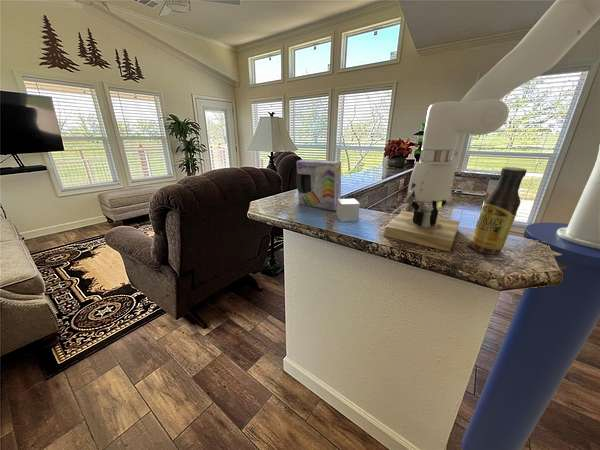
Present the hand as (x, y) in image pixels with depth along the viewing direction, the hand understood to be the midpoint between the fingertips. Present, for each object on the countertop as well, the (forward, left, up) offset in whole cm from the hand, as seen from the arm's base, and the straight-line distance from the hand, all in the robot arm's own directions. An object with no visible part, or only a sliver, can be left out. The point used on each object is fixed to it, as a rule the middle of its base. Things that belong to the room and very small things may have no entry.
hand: (423, 222), depth 66 cm
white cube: (+17, -16, -3) cm, 24 cm away
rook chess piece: (0, 0, -3) cm, 3 cm away
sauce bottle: (-9, +12, -3) cm, 15 cm away
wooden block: (0, 0, -3) cm, 3 cm away
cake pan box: (+24, -31, -3) cm, 40 cm away
